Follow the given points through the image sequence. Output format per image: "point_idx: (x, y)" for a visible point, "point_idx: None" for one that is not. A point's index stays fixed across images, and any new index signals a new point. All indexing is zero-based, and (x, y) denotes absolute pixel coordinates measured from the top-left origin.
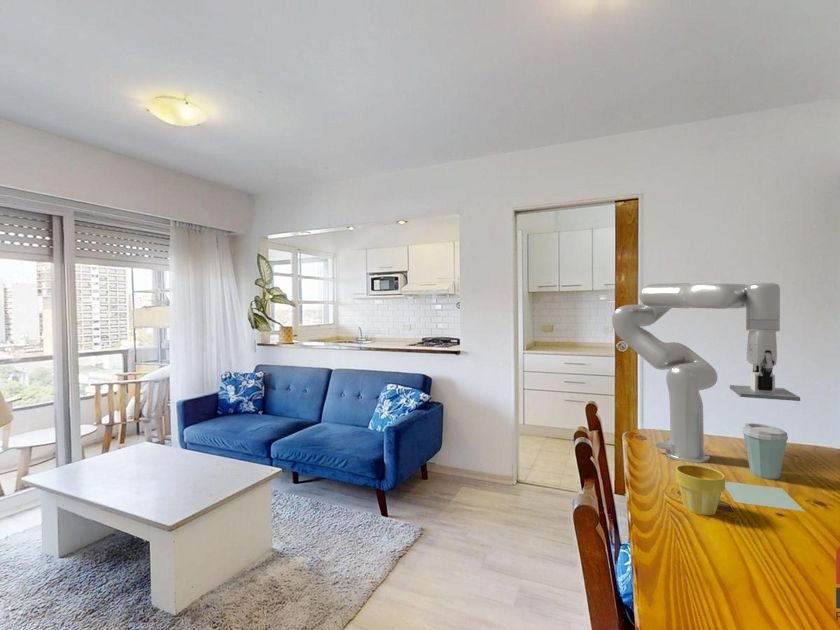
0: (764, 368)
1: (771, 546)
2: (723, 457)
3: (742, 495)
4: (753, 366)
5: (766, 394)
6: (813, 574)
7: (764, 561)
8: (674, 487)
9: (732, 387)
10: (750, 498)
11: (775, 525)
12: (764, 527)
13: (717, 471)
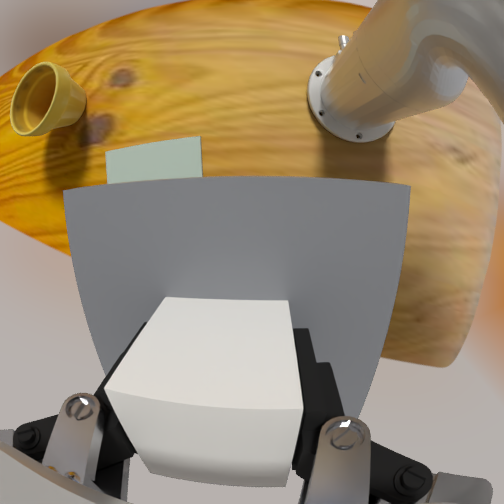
0: (13, 443)
1: (23, 183)
2: (382, 179)
3: (137, 165)
4: (343, 482)
5: (105, 328)
6: (2, 210)
7: (3, 173)
8: (141, 62)
9: (315, 178)
10: (130, 177)
11: (63, 196)
12: (54, 182)
13: (40, 122)
